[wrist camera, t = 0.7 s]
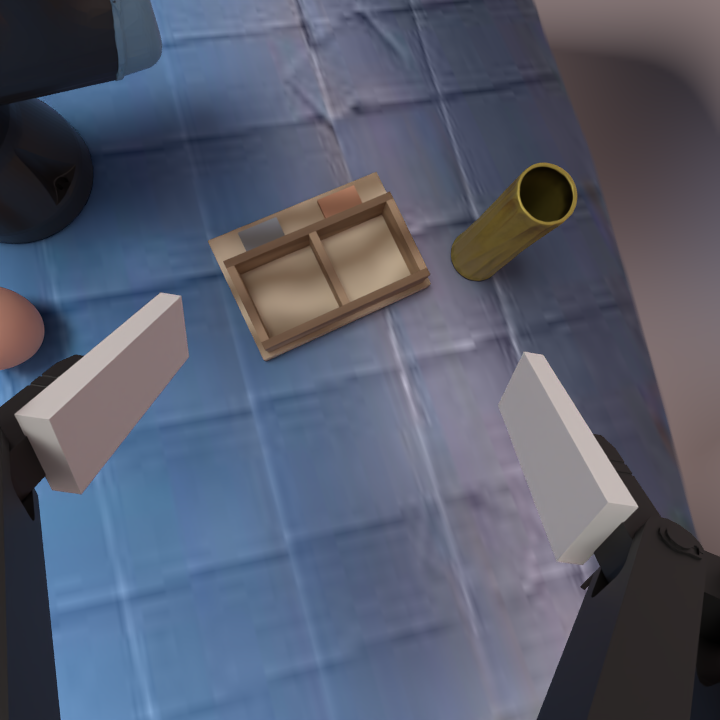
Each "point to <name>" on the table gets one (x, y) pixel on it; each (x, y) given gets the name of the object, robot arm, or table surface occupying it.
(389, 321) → the table surface
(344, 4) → the table surface
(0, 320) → the toy ball
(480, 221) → the vase
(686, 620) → the robot arm
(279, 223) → the tray
